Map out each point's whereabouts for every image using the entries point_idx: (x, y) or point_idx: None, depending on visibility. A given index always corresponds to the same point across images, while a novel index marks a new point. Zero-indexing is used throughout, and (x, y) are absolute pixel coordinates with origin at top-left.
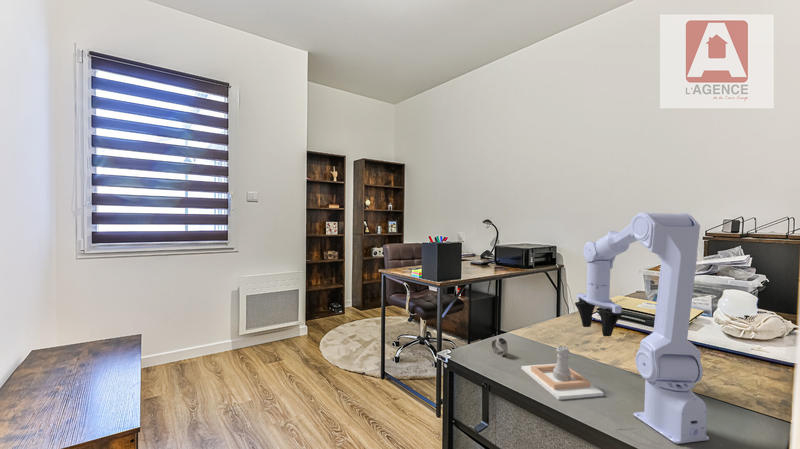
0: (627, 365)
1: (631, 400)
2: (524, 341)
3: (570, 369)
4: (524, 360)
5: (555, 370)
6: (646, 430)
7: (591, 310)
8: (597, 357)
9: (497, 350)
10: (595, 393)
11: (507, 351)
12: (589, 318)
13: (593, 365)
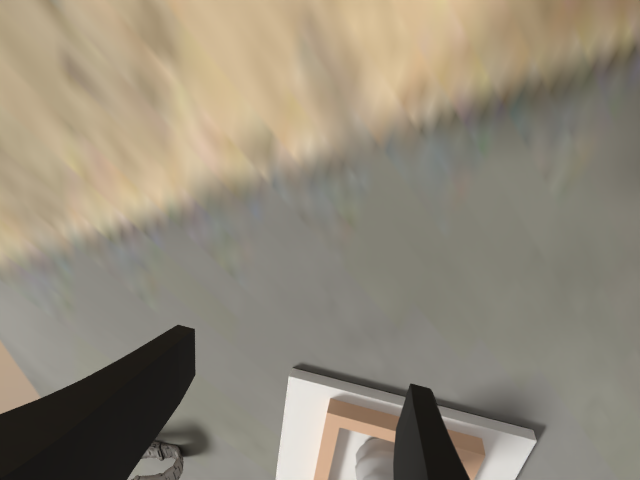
0: (385, 40)
1: (616, 380)
2: (48, 299)
3: (375, 429)
4: (222, 426)
5: None
6: None
7: (67, 460)
8: (250, 122)
9: (147, 454)
10: (523, 461)
11: (176, 464)
12: (143, 394)
13: (325, 235)
